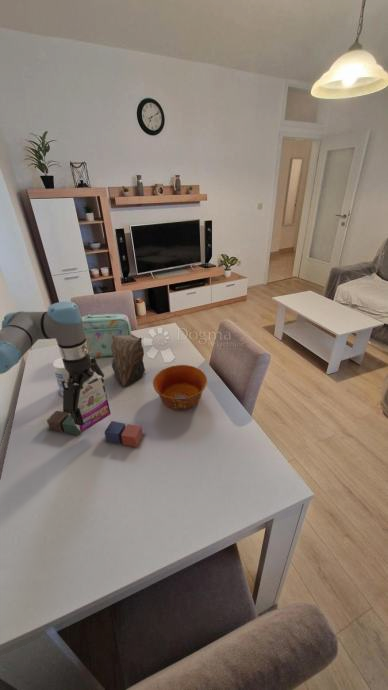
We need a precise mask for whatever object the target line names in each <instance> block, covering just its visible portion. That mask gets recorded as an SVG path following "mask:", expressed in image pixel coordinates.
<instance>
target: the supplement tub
mask: <svg viewBox="0 0 388 690" xmlns="http://www.w3.org/2000/svg"><path fill="white" fill-rule="evenodd" d="M52 366H53V367H52V368H53V372H54V374H55V380H56V382H57V387H58V389H59V393H60V394H61V396H63V388H62V387H63V386H62V381H67V380H68V379H69V373H68V371H67V370H66V369H65V367H64V364H63V360H62V357H61V356H60V357H59V358H57V359H55V360H54V361H53V362H52Z"/></svg>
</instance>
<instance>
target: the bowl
mask: <svg viewBox="0 0 388 690" xmlns="http://www.w3.org/2000/svg"><path fill="white" fill-rule="evenodd" d="M207 383H208V378H207V375H206V374H205V372H204V371H203V370H201V369H200V368H197V367H195V366H193V365H187V364H177V365H172V366H168V367H166V368H163V369H161V370H159V372H158V373H156V375H155V376H154V378H153V381H152V386H153V390H154V391H155V392H156V394H158V395H159V398H160V400H161V402H162V404H163V405H164V406H166V407H167V408H169V409H172V410H179V411H180V410H187V409H190V408H192V407H194V406H195V405H197V404H198V403H199V402H200V400H201V398H202V393H203V391H204V390H205V389H206V387H207ZM181 395H182V396H183V397H181V398H179V396H181Z"/></svg>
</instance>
